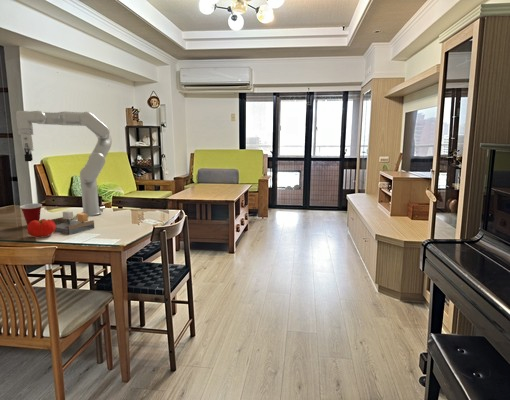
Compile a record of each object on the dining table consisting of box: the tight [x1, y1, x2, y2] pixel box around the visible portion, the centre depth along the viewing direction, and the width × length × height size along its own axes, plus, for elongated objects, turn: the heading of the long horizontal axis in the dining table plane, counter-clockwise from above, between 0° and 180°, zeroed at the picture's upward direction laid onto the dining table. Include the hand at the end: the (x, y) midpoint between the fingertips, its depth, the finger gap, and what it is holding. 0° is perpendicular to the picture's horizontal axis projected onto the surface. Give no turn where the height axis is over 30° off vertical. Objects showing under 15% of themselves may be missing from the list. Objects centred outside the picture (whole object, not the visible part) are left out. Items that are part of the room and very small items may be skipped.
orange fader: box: [76, 212, 89, 223], centre depth 195 cm, size 3×5×5 cm, turn 61°
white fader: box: [62, 210, 74, 221], centre depth 201 cm, size 3×5×5 cm, turn 61°
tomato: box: [26, 218, 56, 239], centre depth 179 cm, size 14×13×9 cm
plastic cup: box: [19, 203, 43, 226], centre depth 201 cm, size 11×11×12 cm
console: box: [50, 216, 95, 235], centre depth 194 cm, size 15×24×4 cm, turn 61°
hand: (29, 160), depth 211 cm, fingers open, 9 cm apart
